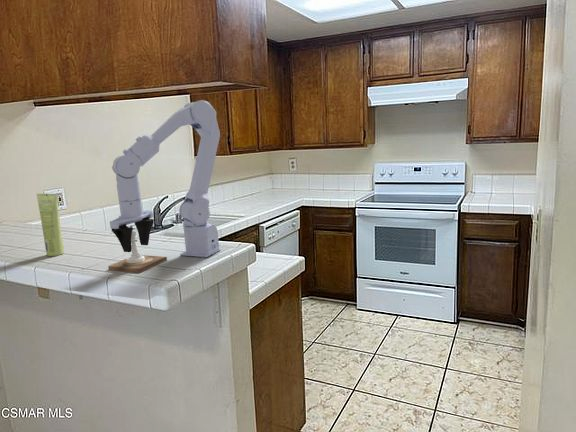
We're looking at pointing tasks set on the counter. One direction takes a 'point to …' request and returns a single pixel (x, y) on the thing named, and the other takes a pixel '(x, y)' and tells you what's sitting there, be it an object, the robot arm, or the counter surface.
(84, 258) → the counter surface
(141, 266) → the pedestal
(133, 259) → the chess piece
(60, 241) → the tube
